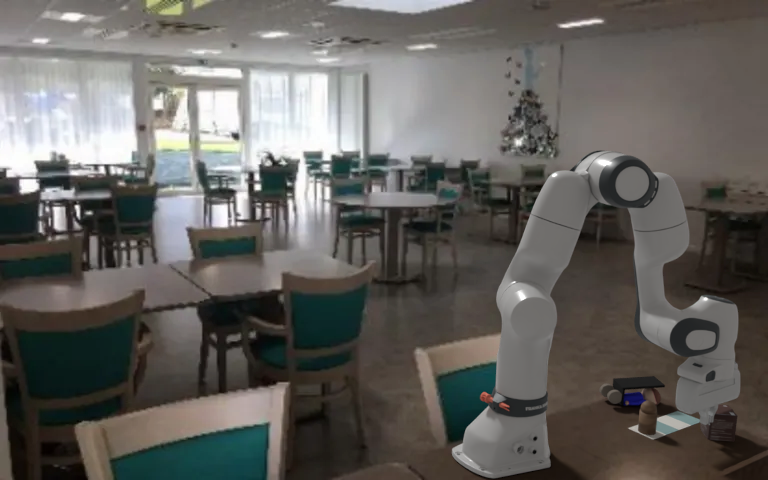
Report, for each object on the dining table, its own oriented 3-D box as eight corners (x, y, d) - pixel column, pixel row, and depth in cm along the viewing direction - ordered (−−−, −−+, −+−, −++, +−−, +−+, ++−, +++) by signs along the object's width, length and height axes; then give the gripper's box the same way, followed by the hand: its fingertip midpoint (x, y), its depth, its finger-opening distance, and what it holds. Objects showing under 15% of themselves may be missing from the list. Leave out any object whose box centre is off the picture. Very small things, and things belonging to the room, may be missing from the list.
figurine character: (610, 417, 172) (666, 409, 173) (609, 389, 171) (665, 382, 172) (599, 406, 179) (653, 399, 180) (598, 379, 177) (652, 372, 179)
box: (699, 431, 161) (702, 402, 160) (725, 433, 160) (728, 404, 159) (707, 442, 155) (710, 413, 154) (734, 445, 154) (738, 415, 153)
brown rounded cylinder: (648, 436, 156) (651, 405, 155) (634, 430, 159) (636, 400, 158) (659, 432, 158) (662, 402, 157) (644, 426, 161) (647, 396, 160)
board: (652, 442, 155) (653, 439, 154) (627, 431, 160) (627, 428, 160) (702, 423, 165) (703, 420, 165) (677, 413, 171) (677, 410, 171)
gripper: (724, 354, 160) (718, 409, 162) (672, 369, 149) (667, 427, 151) (750, 362, 154) (744, 418, 156) (699, 377, 143) (693, 438, 146)
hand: (706, 422), depth 154 cm, fingers closed
